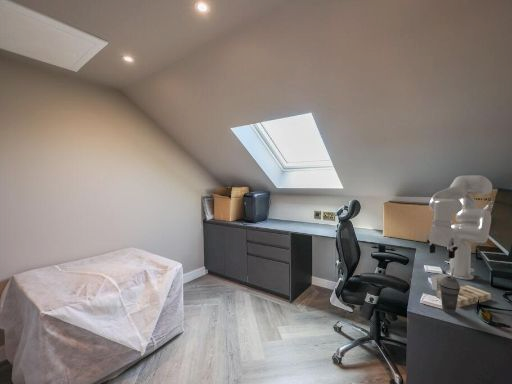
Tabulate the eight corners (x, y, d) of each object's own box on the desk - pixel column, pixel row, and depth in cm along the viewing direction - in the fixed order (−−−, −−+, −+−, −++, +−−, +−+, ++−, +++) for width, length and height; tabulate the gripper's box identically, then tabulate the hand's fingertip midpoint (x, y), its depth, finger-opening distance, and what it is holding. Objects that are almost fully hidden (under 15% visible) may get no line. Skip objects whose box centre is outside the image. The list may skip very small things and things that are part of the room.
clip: (444, 286, 131) (444, 273, 131) (449, 288, 129) (450, 275, 128) (430, 289, 128) (430, 276, 128) (436, 291, 126) (436, 278, 125)
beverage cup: (443, 305, 112) (444, 263, 111) (462, 313, 105) (464, 268, 104) (435, 309, 108) (436, 265, 107) (454, 317, 102) (456, 271, 101)
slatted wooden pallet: (467, 290, 126) (467, 285, 126) (490, 299, 117) (490, 293, 116) (436, 297, 120) (436, 291, 119) (458, 307, 110) (459, 300, 110)
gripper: (421, 221, 134) (420, 251, 135) (455, 227, 117) (454, 261, 118) (431, 220, 136) (430, 250, 137) (466, 226, 120) (464, 259, 120)
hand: (441, 255), depth 127 cm, fingers open, 9 cm apart
